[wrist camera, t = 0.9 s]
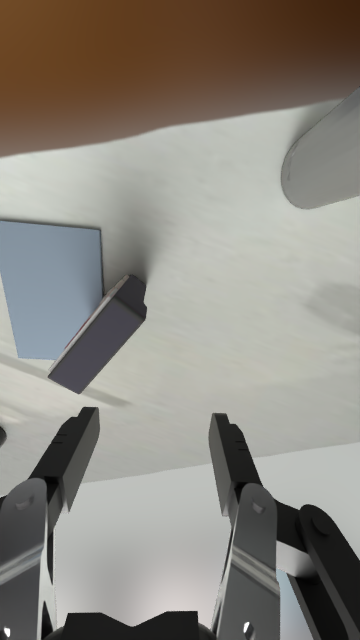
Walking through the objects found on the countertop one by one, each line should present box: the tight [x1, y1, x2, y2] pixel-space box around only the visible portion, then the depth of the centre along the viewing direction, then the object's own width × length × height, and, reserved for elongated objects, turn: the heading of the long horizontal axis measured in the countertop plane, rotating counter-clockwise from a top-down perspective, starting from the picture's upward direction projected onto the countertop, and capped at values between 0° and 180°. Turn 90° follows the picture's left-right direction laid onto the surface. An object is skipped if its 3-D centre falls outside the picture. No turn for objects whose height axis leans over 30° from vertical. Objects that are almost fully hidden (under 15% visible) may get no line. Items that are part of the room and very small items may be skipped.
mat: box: [0, 221, 103, 360], centre depth 32 cm, size 15×22×1 cm
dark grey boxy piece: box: [48, 274, 147, 394], centre depth 26 cm, size 11×4×15 cm, turn 138°
